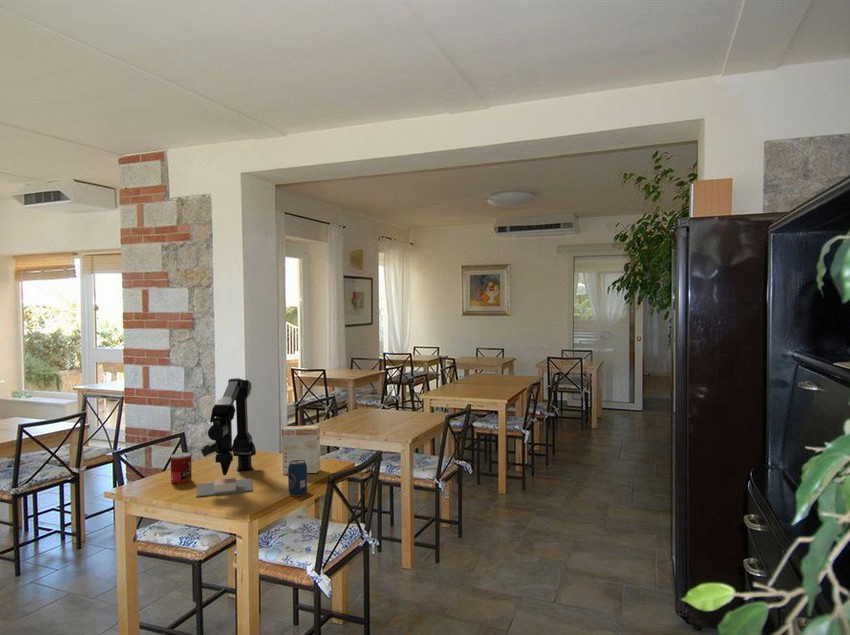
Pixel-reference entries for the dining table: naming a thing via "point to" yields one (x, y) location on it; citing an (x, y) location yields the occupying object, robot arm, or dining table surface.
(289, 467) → the soda can
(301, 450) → the coffeecake box
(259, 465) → the dining table surface
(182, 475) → the canned food
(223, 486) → the slab
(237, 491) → the mat
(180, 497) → the dining table surface
